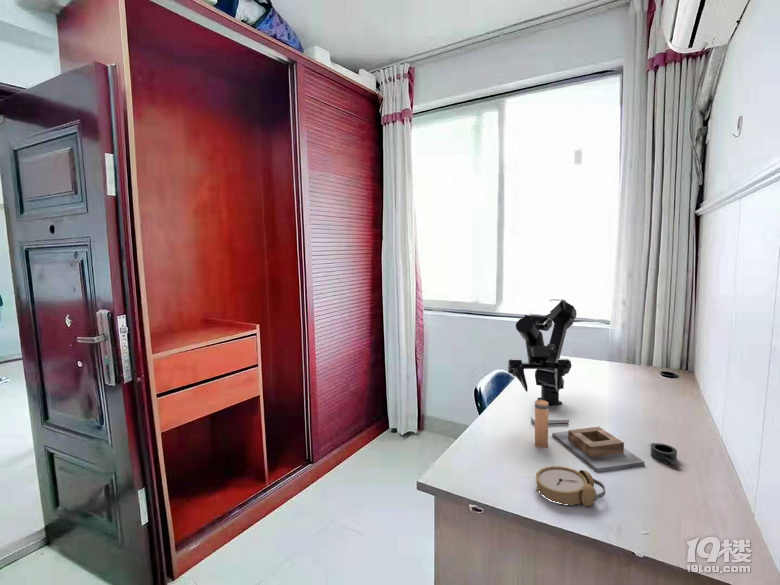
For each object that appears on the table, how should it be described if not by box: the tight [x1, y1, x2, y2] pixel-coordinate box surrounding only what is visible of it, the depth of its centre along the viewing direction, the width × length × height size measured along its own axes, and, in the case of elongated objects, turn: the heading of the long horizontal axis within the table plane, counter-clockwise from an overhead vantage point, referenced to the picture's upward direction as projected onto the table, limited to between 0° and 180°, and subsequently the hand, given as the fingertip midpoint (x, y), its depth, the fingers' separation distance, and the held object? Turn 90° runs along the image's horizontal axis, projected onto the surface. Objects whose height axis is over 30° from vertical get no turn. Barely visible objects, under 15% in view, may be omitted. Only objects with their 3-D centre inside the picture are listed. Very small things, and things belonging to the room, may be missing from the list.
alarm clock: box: [534, 465, 606, 507], centre depth 93 cm, size 11×5×15 cm
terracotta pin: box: [534, 399, 550, 449], centre depth 115 cm, size 4×4×13 cm
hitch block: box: [551, 426, 646, 473], centre depth 112 cm, size 20×14×4 cm
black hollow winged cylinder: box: [648, 442, 682, 466], centre depth 106 cm, size 8×10×3 cm
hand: (542, 391), depth 121 cm, fingers open, 9 cm apart
